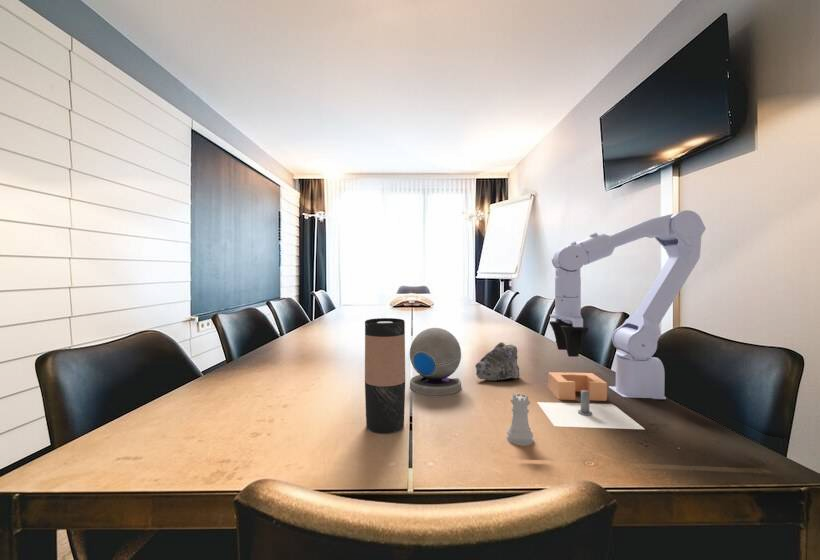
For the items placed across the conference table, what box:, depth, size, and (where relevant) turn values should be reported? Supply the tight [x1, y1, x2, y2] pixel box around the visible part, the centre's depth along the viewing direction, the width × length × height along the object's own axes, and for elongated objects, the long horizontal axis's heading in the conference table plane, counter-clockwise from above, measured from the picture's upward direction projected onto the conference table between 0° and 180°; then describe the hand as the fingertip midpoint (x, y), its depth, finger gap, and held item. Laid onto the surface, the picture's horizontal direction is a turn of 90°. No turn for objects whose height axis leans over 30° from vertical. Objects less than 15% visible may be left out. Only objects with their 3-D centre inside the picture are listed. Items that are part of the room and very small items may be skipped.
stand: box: [536, 390, 645, 430], centre depth 75 cm, size 16×13×5 cm
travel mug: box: [364, 317, 406, 435], centre depth 71 cm, size 8×8×20 cm
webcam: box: [409, 327, 462, 396], centre depth 95 cm, size 13×13×15 cm
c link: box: [547, 371, 608, 402], centre depth 88 cm, size 8×10×4 cm
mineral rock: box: [475, 341, 521, 382], centre depth 103 cm, size 13×11×10 cm
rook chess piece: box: [506, 393, 534, 446], centre depth 64 cm, size 4×4×8 cm
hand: (567, 352), depth 91 cm, fingers open, 7 cm apart
